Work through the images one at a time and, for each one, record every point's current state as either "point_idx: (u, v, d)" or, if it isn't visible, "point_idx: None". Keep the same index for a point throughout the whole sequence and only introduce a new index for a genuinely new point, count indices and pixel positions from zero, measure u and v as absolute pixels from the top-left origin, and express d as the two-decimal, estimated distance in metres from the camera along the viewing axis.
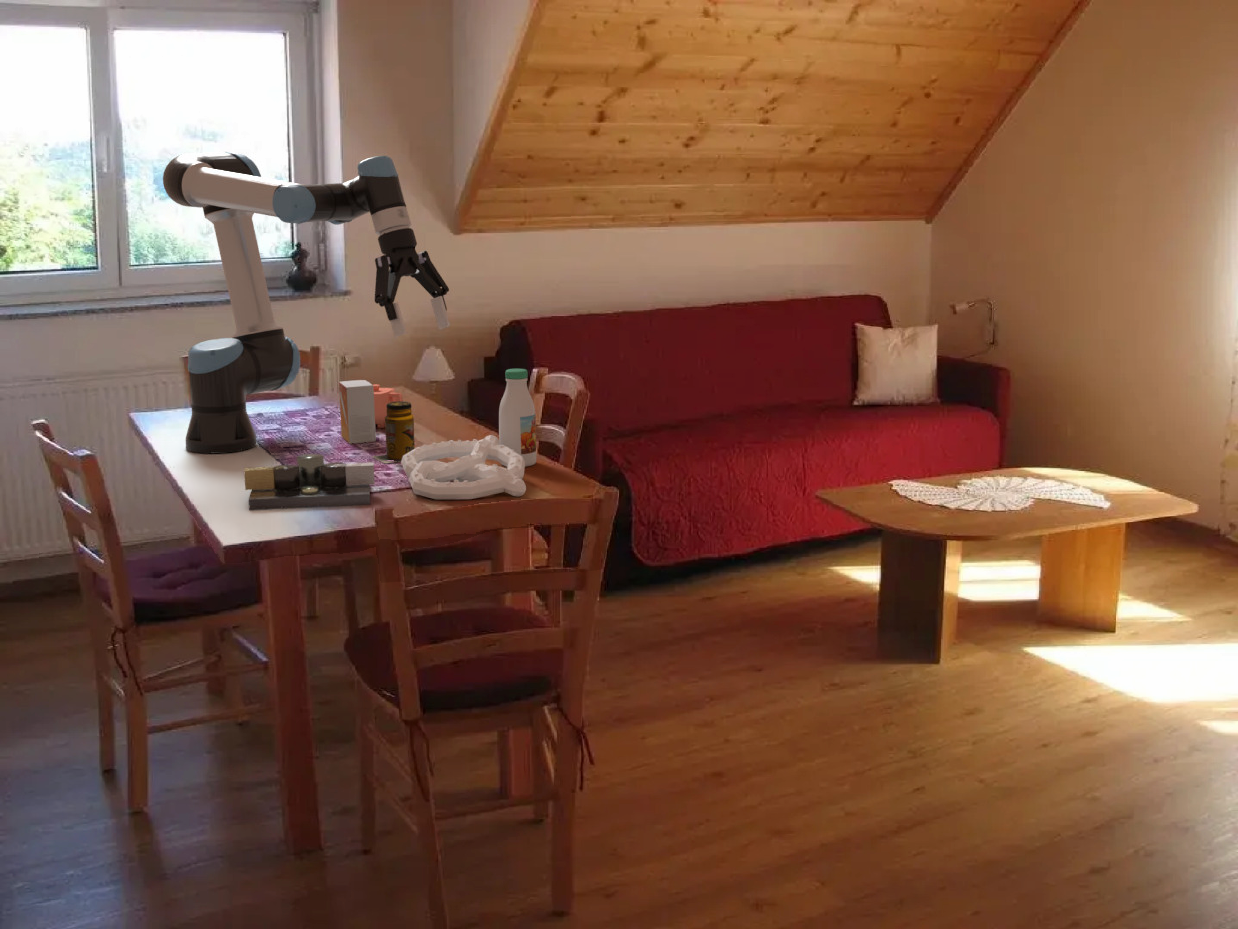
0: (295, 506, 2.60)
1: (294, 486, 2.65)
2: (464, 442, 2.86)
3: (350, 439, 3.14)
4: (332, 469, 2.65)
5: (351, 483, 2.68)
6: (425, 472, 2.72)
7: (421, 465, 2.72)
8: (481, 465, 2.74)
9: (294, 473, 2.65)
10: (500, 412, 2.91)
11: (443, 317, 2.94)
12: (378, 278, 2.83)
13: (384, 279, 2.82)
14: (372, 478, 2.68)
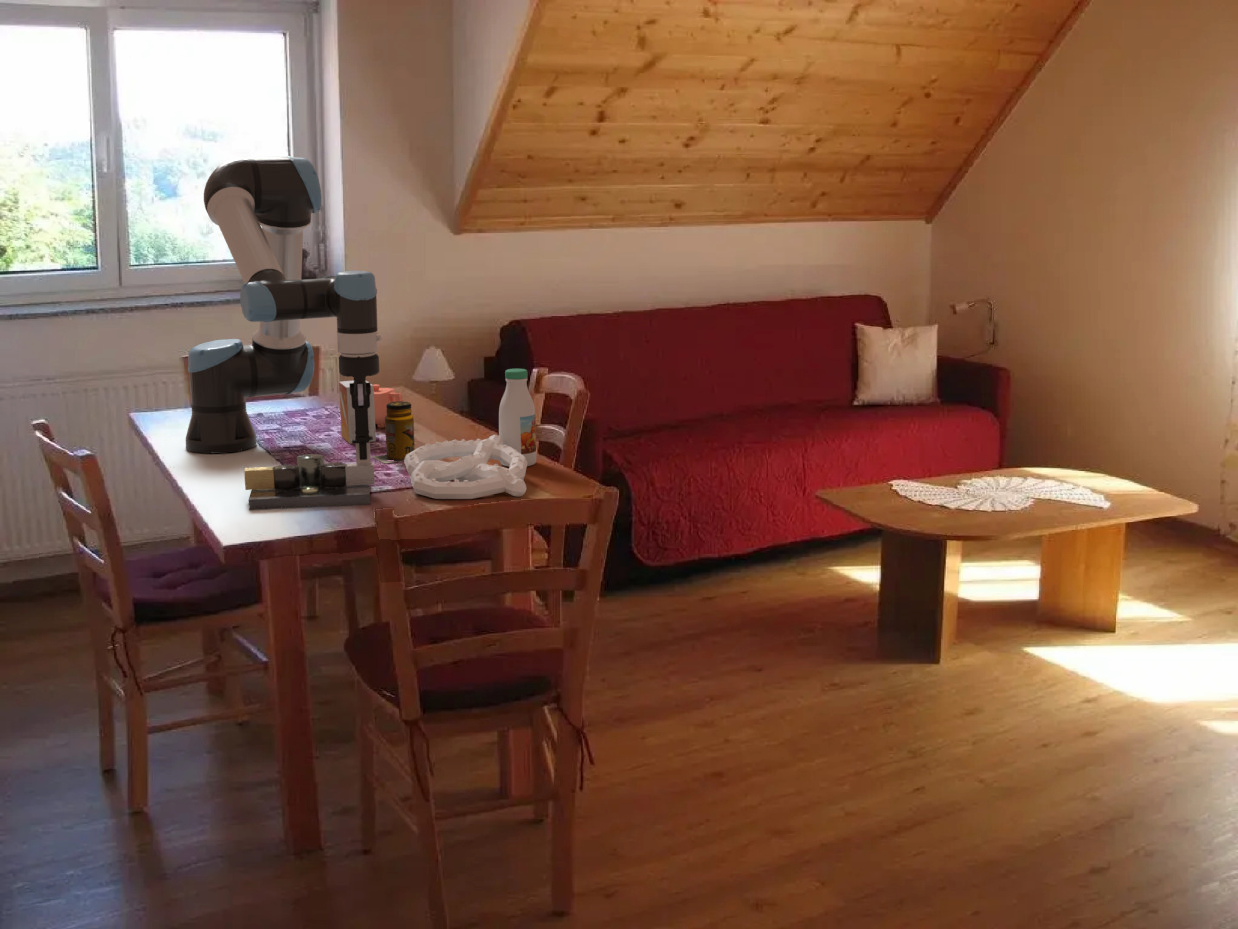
0: (295, 506, 2.60)
1: (294, 486, 2.65)
2: (468, 442, 2.86)
3: (350, 439, 3.14)
4: (332, 469, 2.65)
5: (351, 483, 2.68)
6: (426, 471, 2.72)
7: (423, 464, 2.73)
8: (483, 465, 2.74)
9: (294, 473, 2.65)
10: (500, 412, 2.91)
11: None
12: (359, 419, 2.63)
13: (367, 420, 2.64)
14: (372, 478, 2.68)
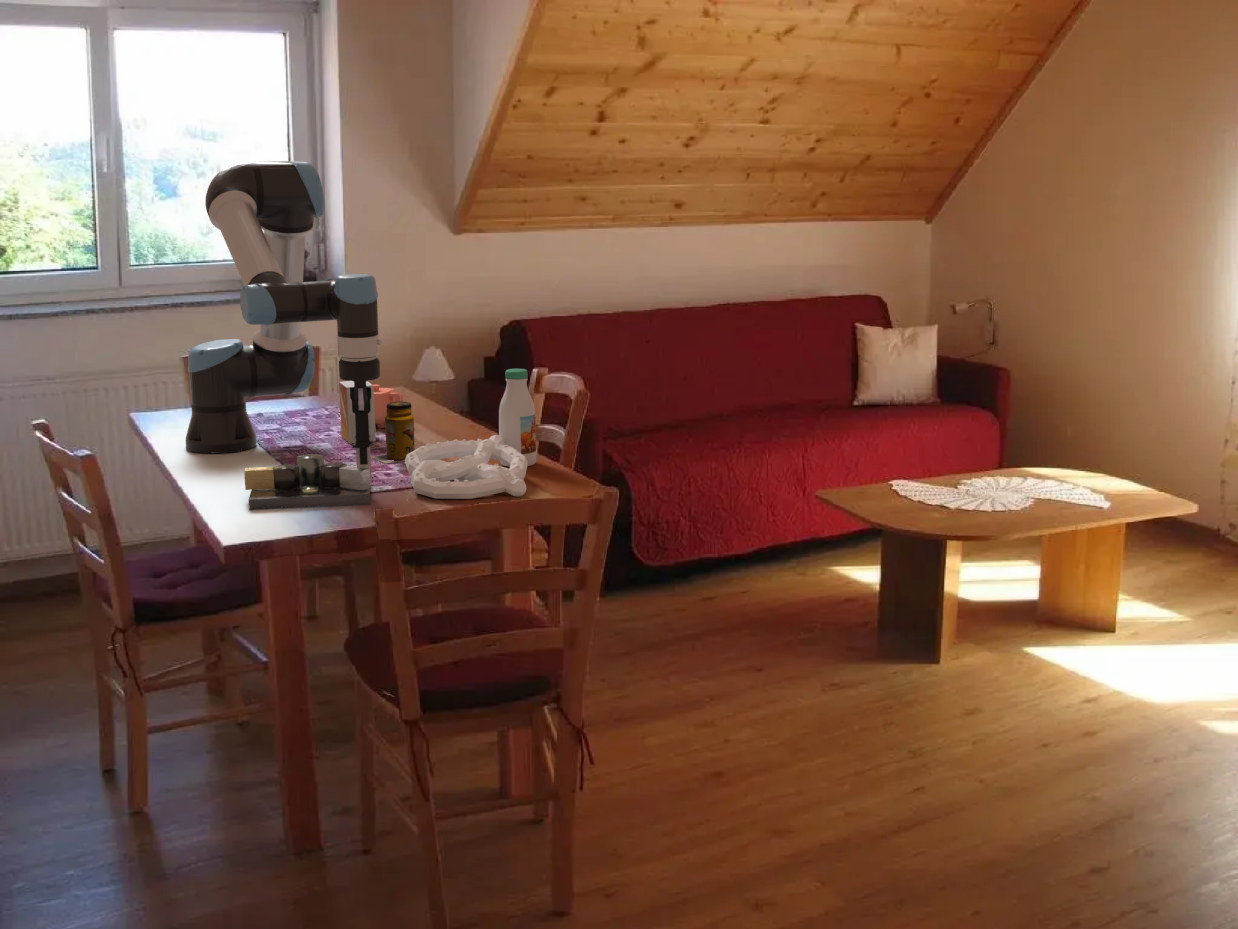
0: (295, 506, 2.60)
1: (294, 486, 2.65)
2: (468, 442, 2.86)
3: (350, 439, 3.14)
4: (324, 469, 2.65)
5: (344, 485, 2.66)
6: (427, 471, 2.73)
7: (423, 464, 2.73)
8: (483, 465, 2.74)
9: (294, 473, 2.65)
10: (500, 412, 2.91)
11: None
12: (359, 423, 2.60)
13: (368, 425, 2.61)
14: (360, 484, 2.64)
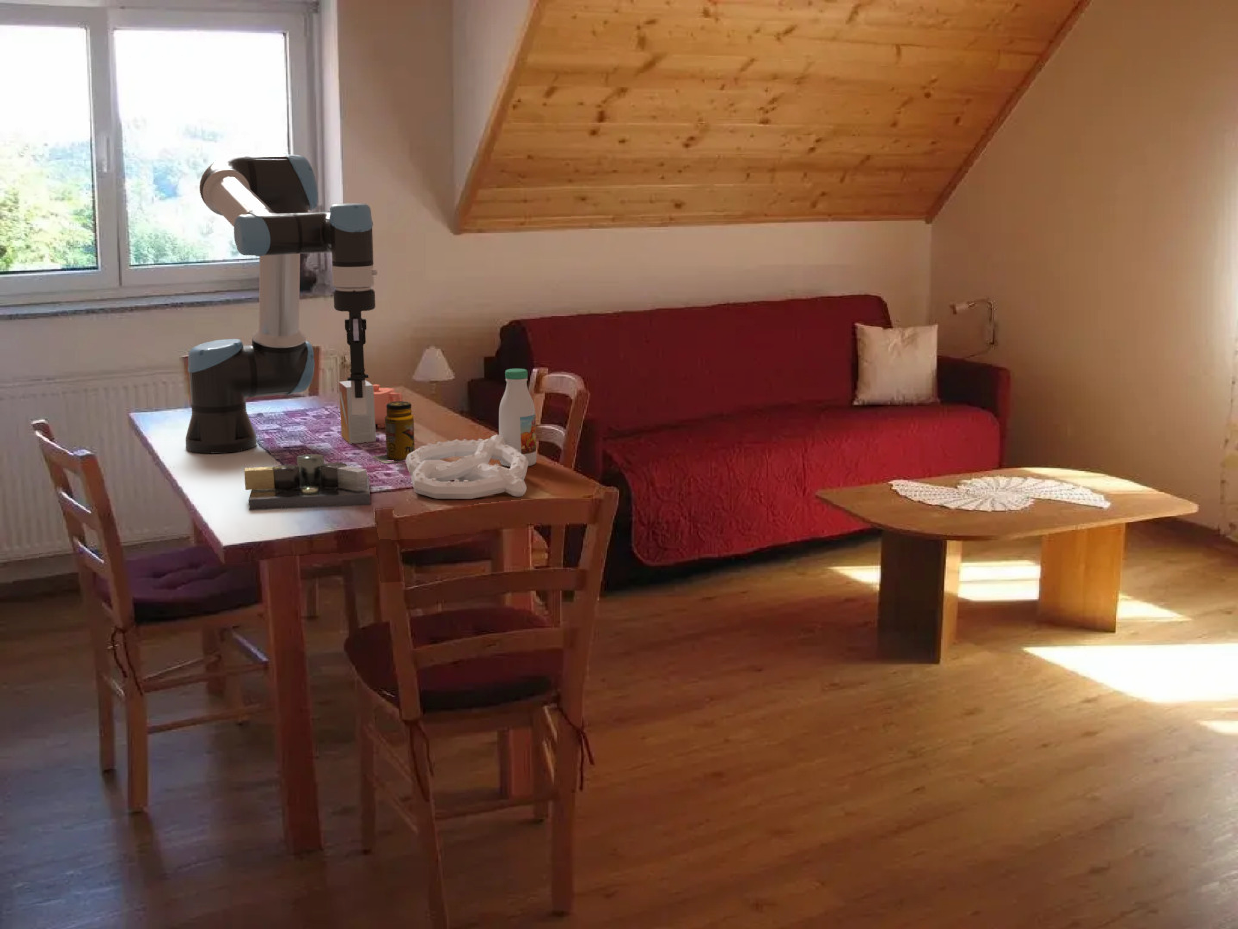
0: (295, 506, 2.60)
1: (294, 486, 2.65)
2: (469, 441, 2.86)
3: (350, 439, 3.14)
4: (323, 468, 2.66)
5: (341, 486, 2.65)
6: (427, 471, 2.73)
7: (423, 464, 2.73)
8: (483, 465, 2.74)
9: (294, 473, 2.65)
10: (500, 412, 2.91)
11: None
12: (354, 354, 2.57)
13: (363, 356, 2.58)
14: (356, 485, 2.63)
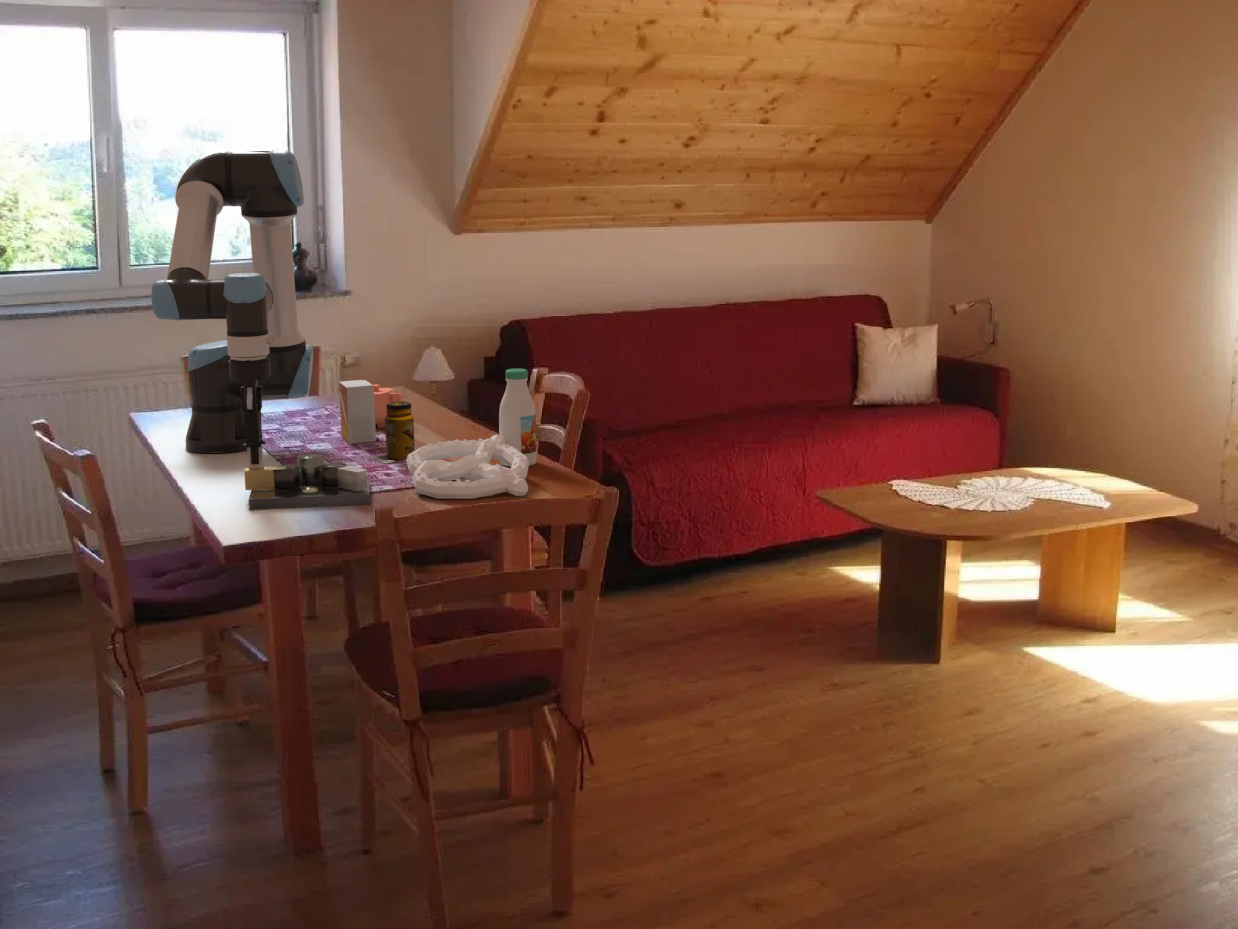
0: (295, 506, 2.60)
1: (294, 486, 2.65)
2: (470, 441, 2.87)
3: (350, 439, 3.14)
4: (323, 468, 2.66)
5: (341, 486, 2.65)
6: (428, 471, 2.73)
7: (425, 464, 2.73)
8: (484, 465, 2.74)
9: (294, 473, 2.65)
10: (500, 412, 2.91)
11: None
12: (249, 423, 2.60)
13: (258, 425, 2.60)
14: (356, 485, 2.63)
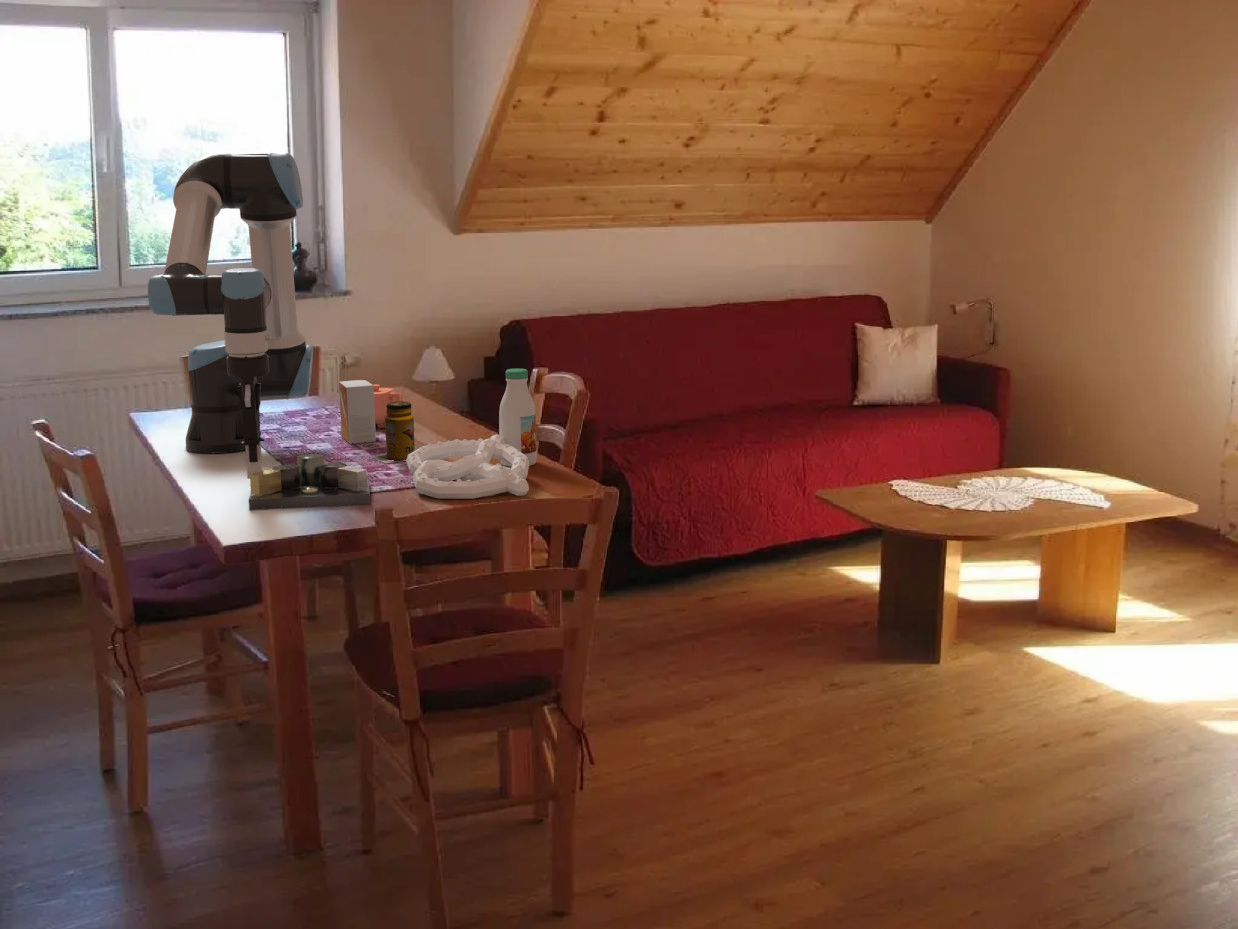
0: (295, 506, 2.60)
1: (299, 484, 2.67)
2: (470, 441, 2.87)
3: (350, 439, 3.14)
4: (323, 468, 2.66)
5: (341, 486, 2.65)
6: (429, 471, 2.73)
7: (425, 464, 2.73)
8: (485, 464, 2.74)
9: None
10: (500, 412, 2.91)
11: None
12: (247, 420, 2.56)
13: (256, 422, 2.57)
14: (356, 485, 2.63)
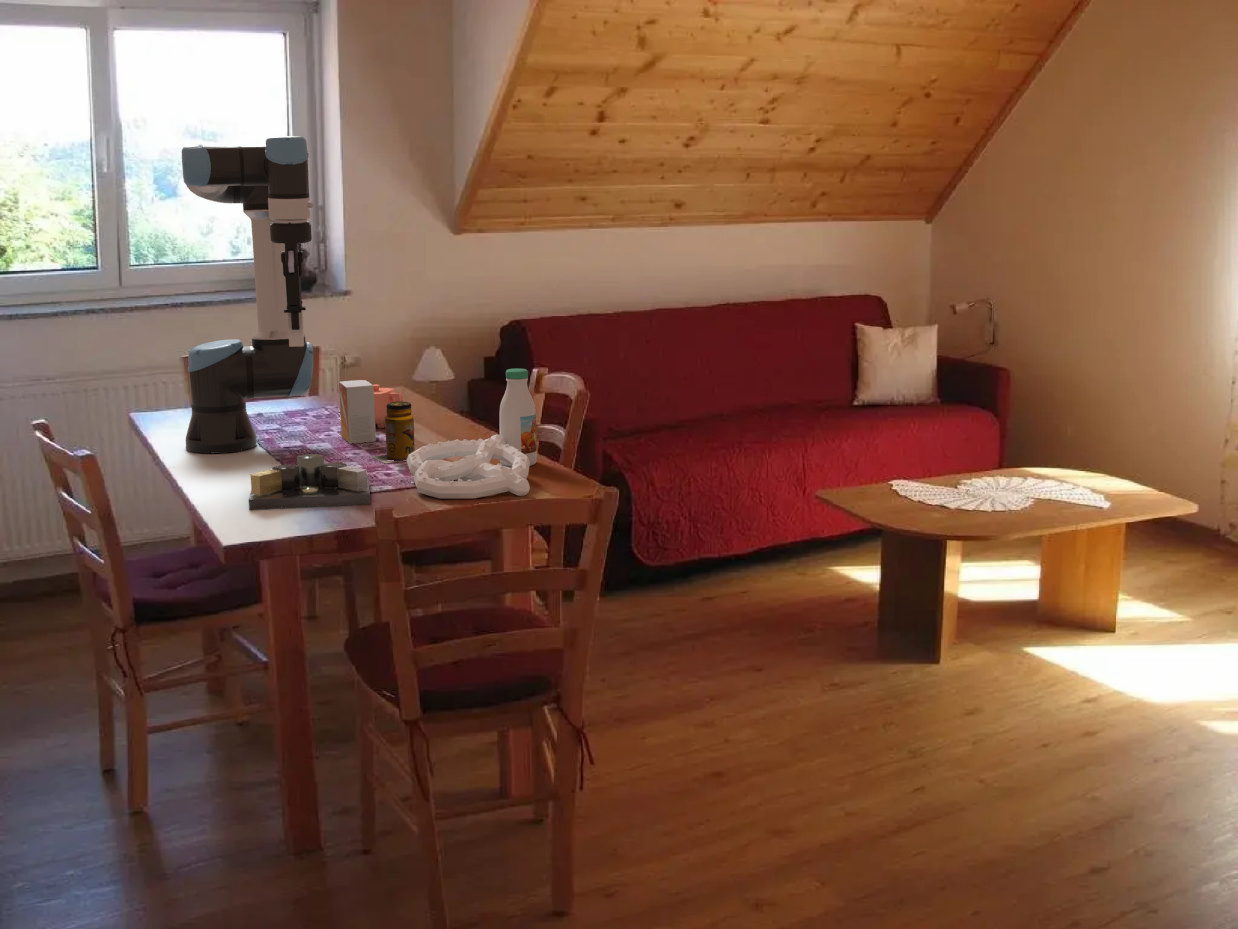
0: (295, 506, 2.60)
1: (299, 484, 2.67)
2: (470, 441, 2.87)
3: (350, 439, 3.14)
4: (323, 468, 2.66)
5: (341, 486, 2.65)
6: (430, 471, 2.73)
7: (426, 464, 2.73)
8: (485, 464, 2.74)
9: None
10: (500, 412, 2.91)
11: None
12: (290, 286, 2.60)
13: (299, 288, 2.61)
14: (356, 485, 2.63)
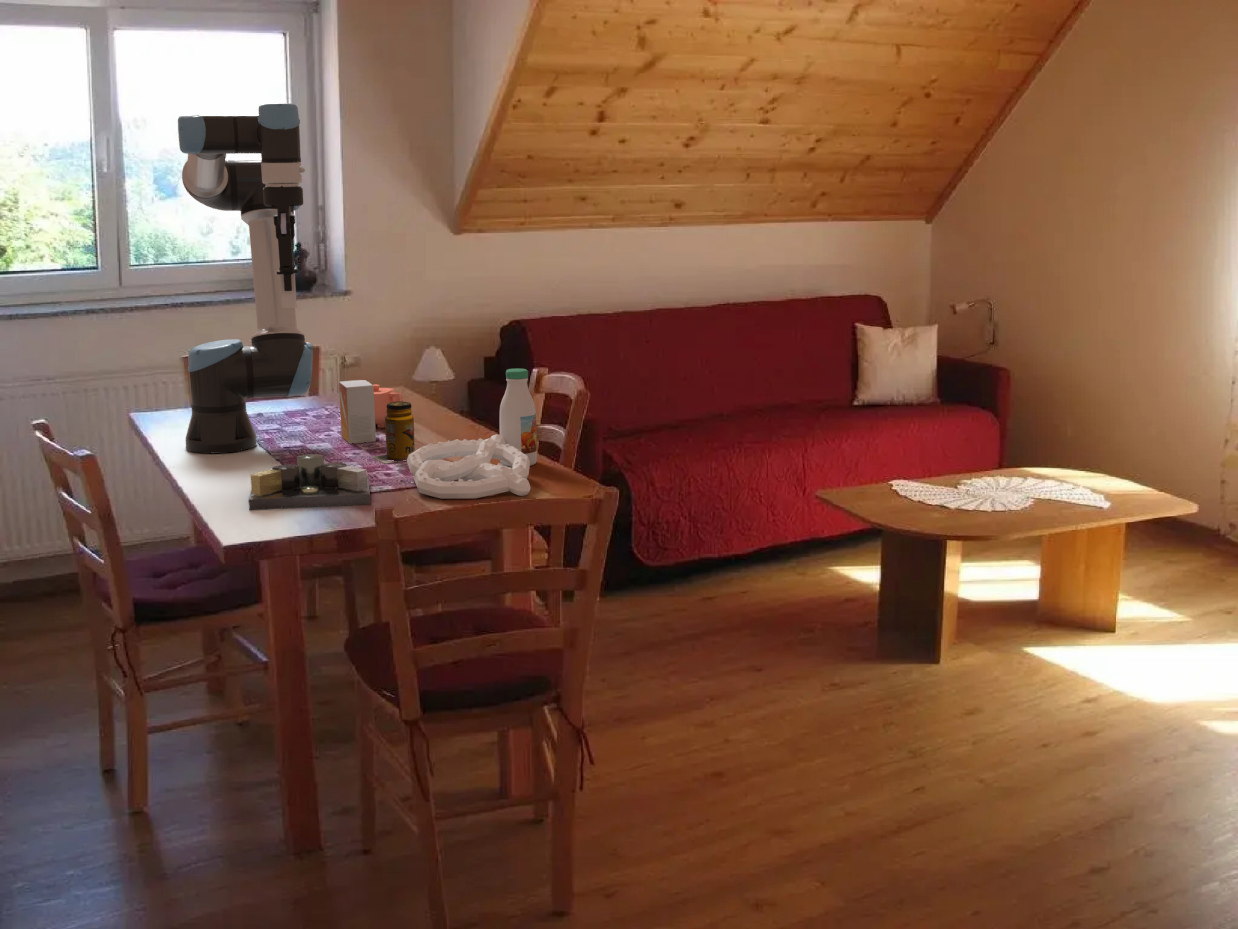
0: (295, 506, 2.60)
1: (299, 484, 2.67)
2: (470, 441, 2.87)
3: (350, 439, 3.14)
4: (323, 468, 2.66)
5: (341, 486, 2.65)
6: (430, 471, 2.73)
7: (426, 464, 2.73)
8: (486, 464, 2.74)
9: None
10: (500, 412, 2.91)
11: None
12: (282, 247, 2.69)
13: None
14: (356, 485, 2.63)
